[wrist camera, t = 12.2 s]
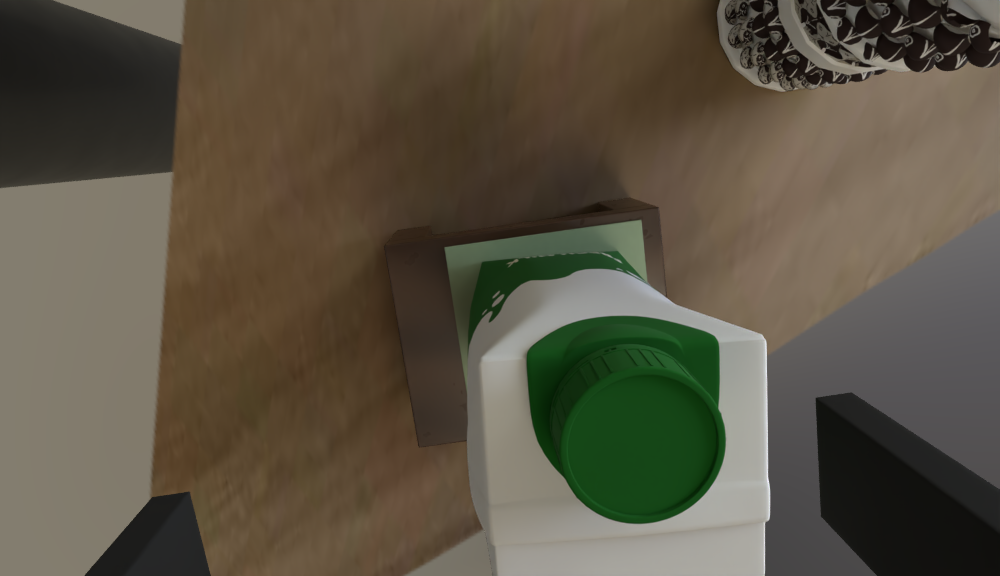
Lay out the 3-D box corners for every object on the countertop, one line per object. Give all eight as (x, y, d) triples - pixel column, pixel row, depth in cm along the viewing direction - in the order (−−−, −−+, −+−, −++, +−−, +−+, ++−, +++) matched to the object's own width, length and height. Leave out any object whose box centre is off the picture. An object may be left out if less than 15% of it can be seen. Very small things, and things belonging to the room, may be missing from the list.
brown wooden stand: (397, 230, 42) (383, 246, 36) (630, 197, 42) (660, 207, 36) (426, 404, 44) (418, 449, 38) (648, 372, 44) (678, 412, 38)
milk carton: (635, 231, 36) (830, 334, 16) (641, 400, 38) (824, 678, 18) (461, 244, 36) (447, 366, 16) (475, 414, 37) (479, 710, 18)
